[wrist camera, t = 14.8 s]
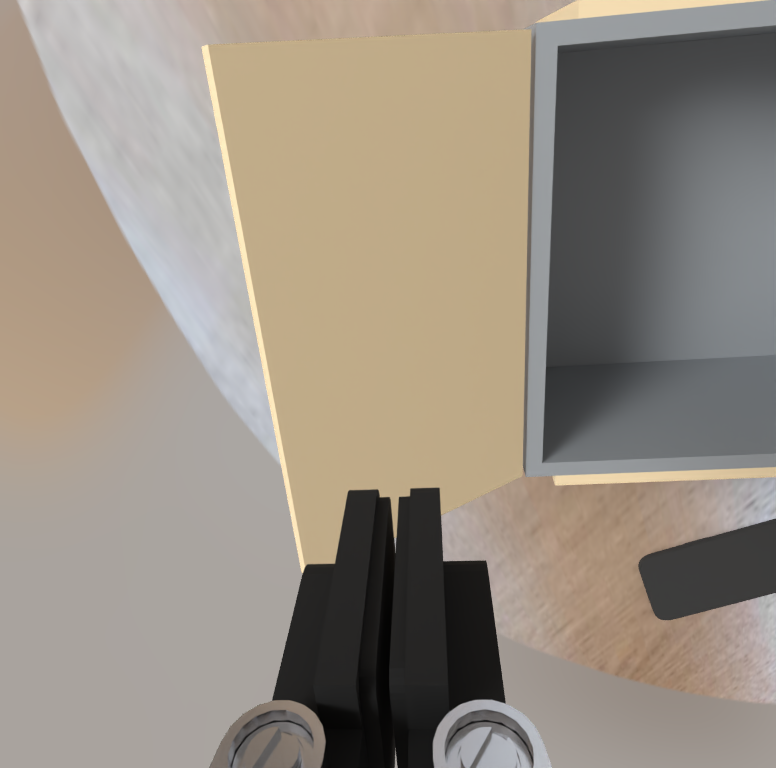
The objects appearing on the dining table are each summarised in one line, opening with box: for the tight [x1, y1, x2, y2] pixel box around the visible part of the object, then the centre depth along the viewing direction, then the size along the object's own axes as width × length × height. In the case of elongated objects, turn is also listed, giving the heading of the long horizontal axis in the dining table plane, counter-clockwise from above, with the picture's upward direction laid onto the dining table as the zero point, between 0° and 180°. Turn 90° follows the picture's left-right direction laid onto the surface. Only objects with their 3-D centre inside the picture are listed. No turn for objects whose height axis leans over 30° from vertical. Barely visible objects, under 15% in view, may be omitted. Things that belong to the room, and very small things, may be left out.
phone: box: [639, 519, 776, 620], centre depth 48 cm, size 7×1×15 cm
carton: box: [523, 0, 776, 485], centre depth 31 cm, size 21×24×12 cm
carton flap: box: [202, 29, 531, 573], centre depth 24 cm, size 20×12×1 cm
